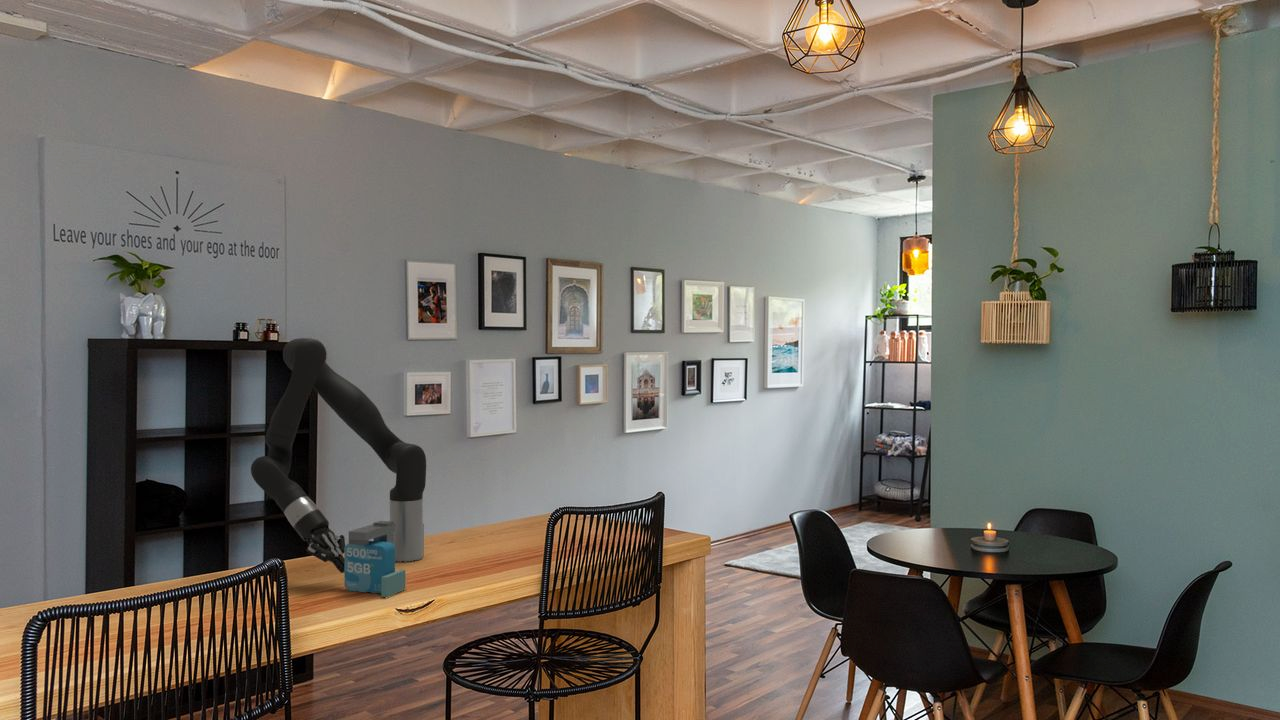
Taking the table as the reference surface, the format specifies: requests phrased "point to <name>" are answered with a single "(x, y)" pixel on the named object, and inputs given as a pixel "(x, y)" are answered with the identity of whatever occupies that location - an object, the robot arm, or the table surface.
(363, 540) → the lug bracket
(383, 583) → the end catch
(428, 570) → the table surface
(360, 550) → the data package
